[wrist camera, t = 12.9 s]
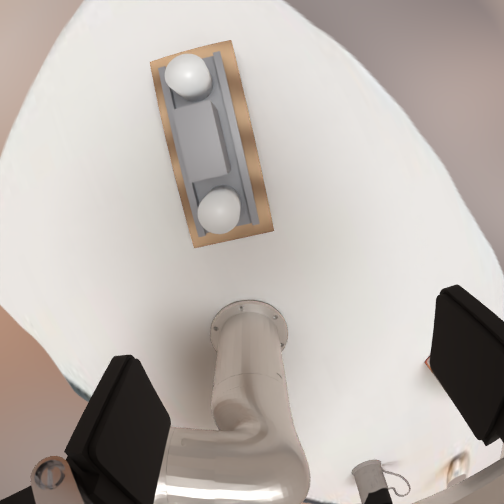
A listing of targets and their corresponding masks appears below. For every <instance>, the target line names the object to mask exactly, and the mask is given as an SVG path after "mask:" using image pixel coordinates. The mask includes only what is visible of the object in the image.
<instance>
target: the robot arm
mask: <svg viewBox="0 0 504 504" xmlns="http://www.w3.org/2000/svg"><path fill="white" fill-rule="evenodd" d="M240 306H243V307H240ZM274 315H275V316H274ZM216 326H217V327H216ZM210 337H211V342H212V345H213V347H214V349H215V350H216V352H217V360H216V367H215V375H214V383H213V392H212V400H211V411H212V416H213V418H214V421H215V423H216V425H217V427H218V428H219V431H216V430H203V429H191V428H182V427H172V426H170V425H171V421H170V417H169V414H168V413H167V411H166V409H165V407H164V406H163V404H162V402H161V400H160V399H159V397H158V395H157V393H156V391H155V389H154V388H153V386H152V384H151V382H150V380H149V378H148V376H147V374H146V372H145V370H144V368H143V366H142V364H141V362H140V361H139V360H138V359H135V358H134V357H133V356H132V355H121V356H114V357H113V358H112V360H111V362H110V364H109V365H108V367H107V369H106V371H105V373H104V375H103V376H102V378H101V380H100V382H99V384H98V386H97V388H96V389H95V391H94V393H93V395H92V397H91V399H90V401H89V403H88V405H87V407H86V409H85V410H84V412H83V414H82V416H81V418H80V420H79V422H78V424H77V426H76V429H75V430H74V432H73V434H72V436H71V439H70V441H69V443H68V445H67V447H66V449H65V451H64V452H65V453H66V454H67V455H68V457H67V459H66V460H65V459H63V458H62V457H59V456H50V457H46V458H45V459H43V460H41V461H39V462H38V464H37V465H35V467H34V469H33V470H32V473H31V486H29V487H27V488H25V489H23V490H21V491H19V492H17V493H15V494H13V495H11V496H9V497H7V498H5V499H3V500H1V501H0V504H301V503H302V502H303V501H304V499H305V498H306V496H307V494H308V491H309V488H310V470H309V465H308V461H307V458H306V455H305V453H304V450H303V448H302V446H301V443H300V441H299V438H298V436H297V433H296V430H295V427H294V423H293V419H292V414H291V409H290V403H289V397H288V390H287V384H286V377H285V371H284V365H283V358H282V351H283V349H284V348H285V345H286V343H287V339H288V329H287V325H286V322H285V320H284V318H283V316H282V315H281V314H280V313H279V312H278V311H277V310H276V309H275V308H273V307H272V306H270V305H268V304H265V303H263V302H259V301H239V302H236V303H233V304H230V305H229V306H227V307H225V308H224V309H222V310H221V311H220V312H219V313H218V314H217V315H216V317H215V318H214V320H213V322H212V326H211V332H210ZM429 363H430V368H431V371H432V372H433V374H434V375H435V377H436V378H437V379H438V381H439V382H440V384H441V385H442V387H443V388H444V389H445V391H446V392H447V394H448V395H449V397H450V398H451V400H452V401H453V403H454V404H455V406H456V407H457V409H458V410H459V412H460V413H461V415H462V416H463V418H464V420H465V421H466V423H467V424H468V426H469V427H470V429H471V430H472V432H473V434H474V435H475V437H476V438H477V439H478V440H482V441H483V442H484V444H485V446H487V445H489V444H491V443H492V442H494V441H496V440H497V439H499V438H501V440H502V441H503V446H502V451H501V456H500V460H498V461H497V462H495V463H493V464H492V465H490V466H488V467H487V468H485V469H483V470H481V471H480V472H478V473H476V474H474V475H473V476H471V477H469V478H467V479H465V480H463V481H461V482H459V483H457V484H455V485H453V486H451V487H449V488H447V489H445V490H443V491H441V492H438V493H436V494H434V495H432V496H429V497H427V498H425V499H422V500H420V501H417V502H415V503H412V504H504V321H502V320H501V319H500V318H499V317H498V316H497V315H495V314H494V313H493V312H492V311H491V310H489V309H488V308H487V307H486V306H485V305H483V304H482V303H481V302H480V301H478V300H477V299H476V298H475V297H473V296H472V295H471V294H470V293H468V292H467V291H466V290H465V289H463V288H462V287H461V286H459V285H454V286H451V287H448V288H444V289H442V290H441V292H440V295H438V296H437V298H436V309H435V320H434V330H433V339H432V346H431V354H430V361H429Z"/></svg>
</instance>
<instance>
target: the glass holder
mask: <svg viewBox="0 0 504 504" xmlns="http://www.w3.org/2000/svg"><path fill="white" fill-rule="evenodd" d="M382 471H383V472H385V473H388V474H393V475H396V476H399V477H401V478H402V479H403V480H405V482H406V483H407V484H408V486H409V492H410V489H411V488H410V485H409V483H408V481H407V480H406V479H405V478H404V477H403V476H401V475H399V474H395V473H392V472H388V471H384V470H383V469H382V468H381V461H379V460H369V461H366V462H363V463H361V464H359V465H357V466H356V467H355V468H354V469H353V470H352V474H353V475H354V476H355V480H356V484H357V487H358V491H359V495H360V498H361V502H362V504H393V503H392V500H391V497H390V494H389V491H388V490H389V489H393V490H394V492H395V494H396V495H397V496H400V497H403V496H406V495H407V494H408V493H409V492H408V493H407V494H405V495H399V494H398V493H397V492H396V490H395V488H394V487H390V488H388V486H387V483H386V480H385V477H384V475H383V472H382Z"/></svg>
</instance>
